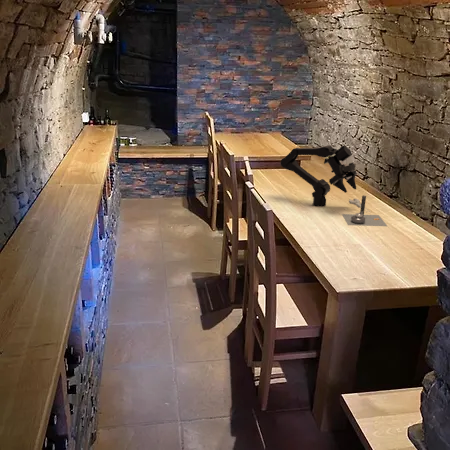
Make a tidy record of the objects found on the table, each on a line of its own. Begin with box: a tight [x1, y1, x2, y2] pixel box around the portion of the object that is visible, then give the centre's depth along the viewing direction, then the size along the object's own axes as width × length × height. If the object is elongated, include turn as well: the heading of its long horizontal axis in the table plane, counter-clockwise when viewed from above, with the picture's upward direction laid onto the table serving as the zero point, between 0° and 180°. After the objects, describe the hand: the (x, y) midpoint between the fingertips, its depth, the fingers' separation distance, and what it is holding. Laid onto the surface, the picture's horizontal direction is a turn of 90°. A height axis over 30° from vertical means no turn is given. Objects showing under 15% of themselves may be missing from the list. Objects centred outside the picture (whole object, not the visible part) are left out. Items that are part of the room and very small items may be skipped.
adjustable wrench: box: [348, 198, 371, 213], centre depth 280 cm, size 25×6×2 cm, turn 4°
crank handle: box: [351, 194, 367, 224], centre depth 254 cm, size 8×13×11 cm, turn 178°
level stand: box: [341, 213, 388, 227], centre depth 257 cm, size 20×17×1 cm
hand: (351, 190), depth 263 cm, fingers open, 9 cm apart
